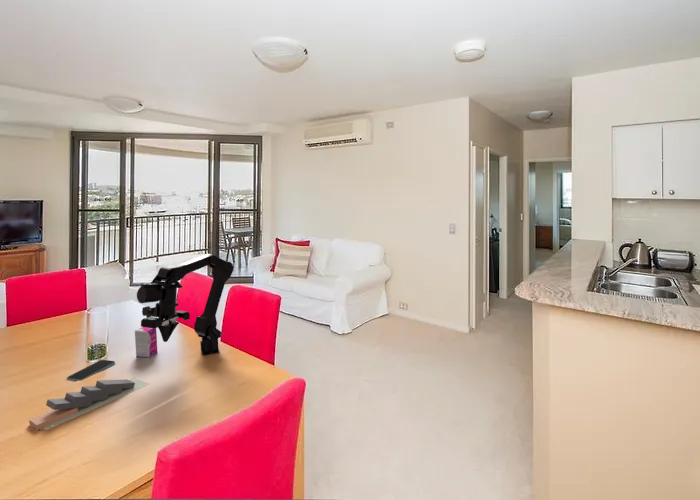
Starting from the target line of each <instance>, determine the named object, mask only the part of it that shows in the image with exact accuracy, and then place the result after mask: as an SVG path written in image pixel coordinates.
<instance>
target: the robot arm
mask: <svg viewBox="0 0 700 500" xmlns="http://www.w3.org/2000/svg"><path fill="white" fill-rule="evenodd" d="M207 266H208V268H211V269H212V270H211V275H212V283H211V288H210V290H209V293H208V296H207V300H206V303H205V307H204V311H203V313H202V314H201V315H200V316H198V315H197V316H196V318H195V321H194V324H193V326H194V328H193V330H194V333H196V335H197V336H198V338H201V340H199V343H200V353H201V354H202V355H203V356H204V355H205V356H206V355H210V354H217V353H220V349H219V338H221V337H222V333H223V332H222V331H221V330H220V329H218V328H217V326H218V325H217V324H218V322H217V321H218V320H217V317H216V314H217V311H218V308H219V305H220V302H221V298H222V294H223V291H224V287H225V284H226V283H227V281H229V280H230V278H231V277H232V275H233V272H234V265H233V263H232V262H231V261H226V260H225V259H222V258H220V257H219V256H216V254H213V253H212V254H211V253H205V254H202V255H201V256H197V257H195V258H193V259H190V260H188V261H185V262H182V263H177V264H171V265H165V266H162V267H160V268H159V270H158V273H157V274H156V276H155V277H154V278H153V280H152V281H151V282H150V283H140V287H139V288H138V290H137V292H136V299H137V301H138V303H140V304H149V303H155V306H154V307H151V306H149V305H148V306H144V307H142V310H141V313H142V316H143V317H144V318H142V319H141V320H140V328H142V327H147V328H156V329H158V330H159V333H160V335H161V337H162V338H161V339H162V342H164V343H166V342H168V341H169V339H170V337H171V336H172V334H173V332H174V331H175V329H176V328H177V326H178V325H179V324H180V322H179V321H177V320H178V319H182V320H183V321H187V320H190V316H191V314H190V312H189V311H184V310H177V309H176V308H177V307H179V302H177V295H178V293H177V292H178V289H182V288H183V285H182V284H181V283H180V282H179V281H181V280H182V279H184V278H185V277H186V275H188V274H190V273H193V272H195V271H197V270H200V269H203V268H205V267H207Z"/></svg>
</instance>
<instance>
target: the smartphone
mask: <svg viewBox="0 0 700 500" xmlns="http://www.w3.org/2000/svg"><path fill="white" fill-rule="evenodd" d="M115 364H116V360H109V359H101V360H98V361H96V362H93V363H91V364H89V365H87V366H85V367H84V368H82V369H80V370H78V371H76V372H74V373H72V374H71V375H68V376H67V377H66V380H67V379H68V381H75V382H76V381H83V380H85V379H87V378H90V377H91V376H93V375H96V374H98V373H101V372H102V371H104V370H107V369H108V368H110V367H112V366H114V365H115Z"/></svg>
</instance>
